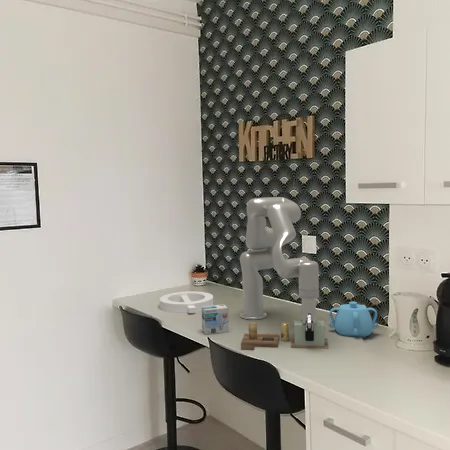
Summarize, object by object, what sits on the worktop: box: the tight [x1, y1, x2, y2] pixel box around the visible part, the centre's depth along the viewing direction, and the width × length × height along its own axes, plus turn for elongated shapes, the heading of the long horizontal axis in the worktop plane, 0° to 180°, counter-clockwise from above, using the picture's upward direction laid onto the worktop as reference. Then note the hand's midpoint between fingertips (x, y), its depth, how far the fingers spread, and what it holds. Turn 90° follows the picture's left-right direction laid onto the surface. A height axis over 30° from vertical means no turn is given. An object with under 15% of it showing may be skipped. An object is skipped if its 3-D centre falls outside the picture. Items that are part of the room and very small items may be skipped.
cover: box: [293, 319, 325, 346], centre depth 189 cm, size 7×11×8 cm, turn 81°
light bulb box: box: [201, 304, 230, 335], centre depth 212 cm, size 11×7×11 cm, turn 105°
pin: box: [280, 321, 290, 342], centre depth 194 cm, size 3×3×8 cm
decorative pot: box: [328, 301, 379, 339], centre depth 202 cm, size 16×16×14 cm
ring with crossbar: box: [159, 290, 214, 314], centre depth 257 cm, size 28×28×5 cm
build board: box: [240, 322, 280, 351], centre depth 193 cm, size 12×14×8 cm
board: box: [290, 337, 330, 350], centre depth 190 cm, size 12×14×7 cm
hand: (309, 336), depth 189 cm, fingers open, 9 cm apart
